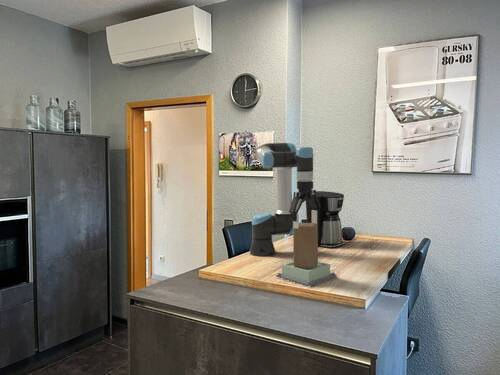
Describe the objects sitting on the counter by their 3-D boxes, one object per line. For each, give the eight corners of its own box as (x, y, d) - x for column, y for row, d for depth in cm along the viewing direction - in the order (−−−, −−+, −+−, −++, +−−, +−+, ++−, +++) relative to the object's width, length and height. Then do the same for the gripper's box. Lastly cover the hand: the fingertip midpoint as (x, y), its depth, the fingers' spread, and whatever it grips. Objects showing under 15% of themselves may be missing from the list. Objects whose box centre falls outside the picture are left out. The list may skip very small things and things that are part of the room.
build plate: (276, 277, 185) (275, 264, 185) (303, 268, 199) (302, 256, 199) (309, 287, 171) (309, 273, 170) (336, 276, 184) (336, 263, 184)
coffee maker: (343, 249, 238) (343, 194, 235) (290, 247, 246) (290, 193, 244) (344, 241, 260) (344, 190, 257) (296, 239, 268) (295, 190, 266)
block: (314, 270, 178) (314, 226, 177) (293, 268, 181) (292, 225, 180) (318, 264, 188) (317, 222, 186) (297, 262, 191) (297, 222, 189)
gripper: (293, 182, 170) (294, 231, 172) (327, 179, 187) (327, 223, 189) (280, 182, 176) (281, 228, 178) (315, 178, 193) (315, 221, 195)
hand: (305, 226), depth 183 cm, fingers open, 13 cm apart
